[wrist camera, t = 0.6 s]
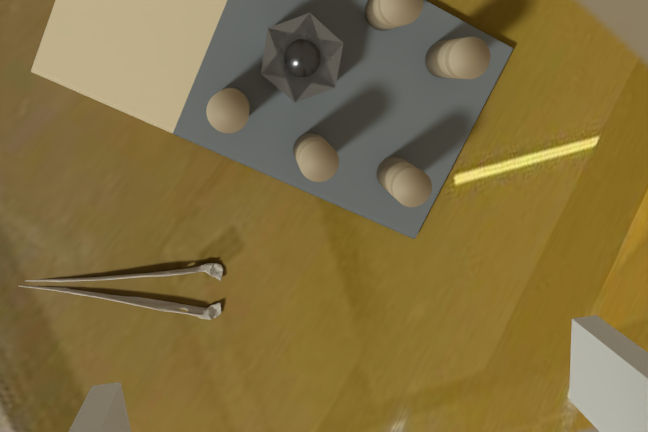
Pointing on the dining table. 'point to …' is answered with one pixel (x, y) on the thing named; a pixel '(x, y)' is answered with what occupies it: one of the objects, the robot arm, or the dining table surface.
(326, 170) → the pegs
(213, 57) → the mat
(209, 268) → the metal tweezers
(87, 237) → the dining table surface
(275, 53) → the nut
